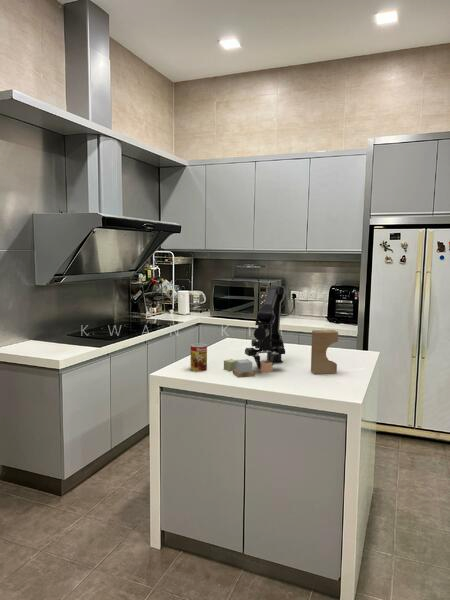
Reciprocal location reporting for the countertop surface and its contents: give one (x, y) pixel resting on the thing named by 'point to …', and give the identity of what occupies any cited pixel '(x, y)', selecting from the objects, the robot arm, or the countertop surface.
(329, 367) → the decorative block
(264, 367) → the terracotta block
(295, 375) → the countertop surface
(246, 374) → the walnut slab
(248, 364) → the grey block
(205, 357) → the canned food
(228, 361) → the olive block
